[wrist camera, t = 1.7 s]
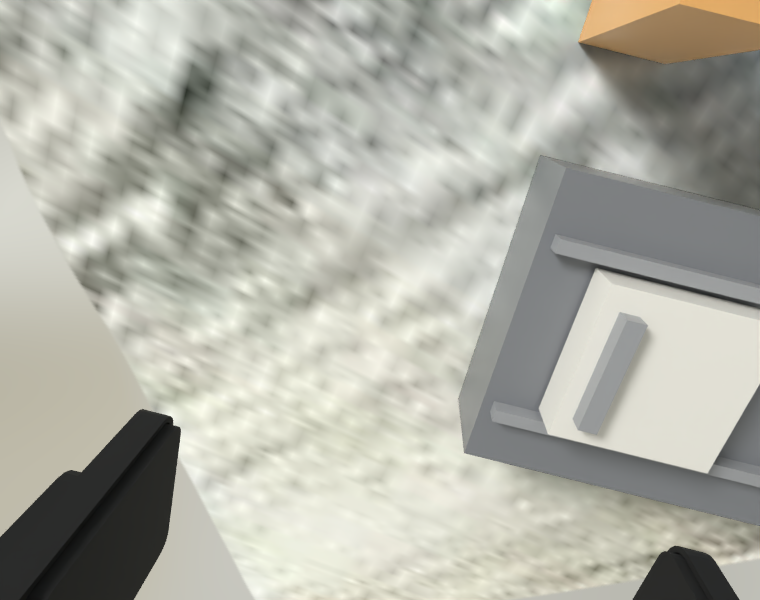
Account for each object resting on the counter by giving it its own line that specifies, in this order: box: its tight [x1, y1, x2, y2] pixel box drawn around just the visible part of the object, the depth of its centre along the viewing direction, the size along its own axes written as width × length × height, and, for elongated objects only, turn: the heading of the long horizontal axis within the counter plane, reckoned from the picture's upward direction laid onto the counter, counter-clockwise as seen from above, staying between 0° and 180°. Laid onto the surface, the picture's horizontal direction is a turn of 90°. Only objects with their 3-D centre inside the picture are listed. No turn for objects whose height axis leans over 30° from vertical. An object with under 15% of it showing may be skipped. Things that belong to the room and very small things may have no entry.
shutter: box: [539, 268, 760, 473], centre depth 21 cm, size 7×7×3 cm
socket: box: [458, 155, 760, 526], centre depth 25 cm, size 19×14×6 cm
